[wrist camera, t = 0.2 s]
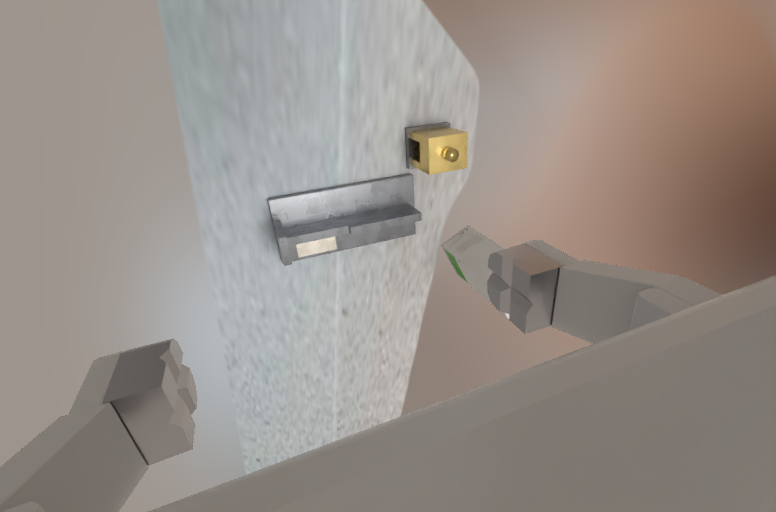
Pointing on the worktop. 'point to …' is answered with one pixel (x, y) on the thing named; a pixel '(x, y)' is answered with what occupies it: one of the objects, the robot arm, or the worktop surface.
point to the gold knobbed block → (441, 150)
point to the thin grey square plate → (413, 145)
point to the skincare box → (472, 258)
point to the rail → (343, 217)
